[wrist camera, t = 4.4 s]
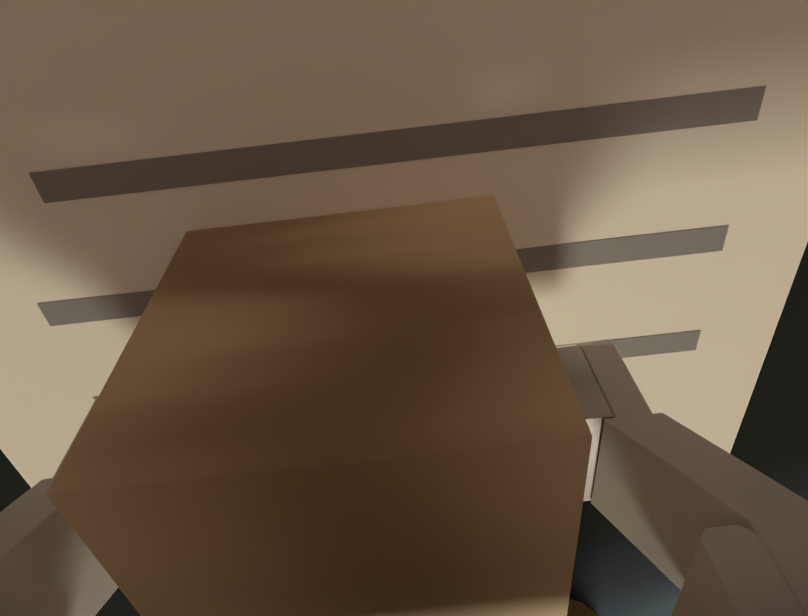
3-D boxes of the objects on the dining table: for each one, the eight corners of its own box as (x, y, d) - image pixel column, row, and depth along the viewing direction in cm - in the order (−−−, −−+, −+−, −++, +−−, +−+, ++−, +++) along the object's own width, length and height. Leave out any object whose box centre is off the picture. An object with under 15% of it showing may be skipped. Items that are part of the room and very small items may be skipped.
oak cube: (263, 436, 12) (211, 705, 8) (187, 230, 9) (45, 494, 5) (495, 411, 12) (559, 671, 8) (493, 195, 9) (592, 435, 5)
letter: (86, 540, 15) (81, 552, 14) (-304, 34, 8) (-327, 39, 7) (712, 475, 14) (718, 485, 14) (920, -118, 7) (939, -118, 7)
